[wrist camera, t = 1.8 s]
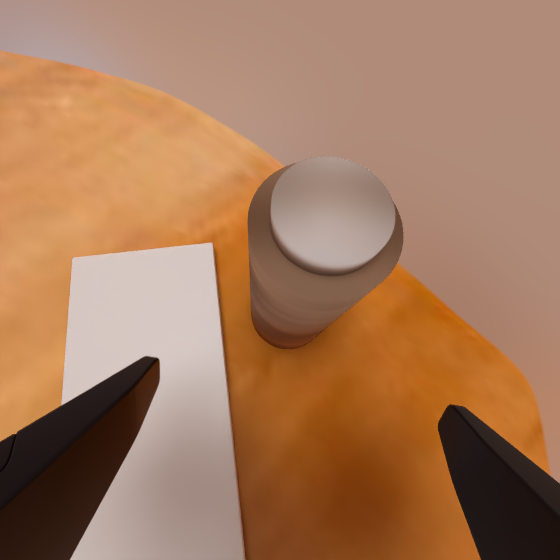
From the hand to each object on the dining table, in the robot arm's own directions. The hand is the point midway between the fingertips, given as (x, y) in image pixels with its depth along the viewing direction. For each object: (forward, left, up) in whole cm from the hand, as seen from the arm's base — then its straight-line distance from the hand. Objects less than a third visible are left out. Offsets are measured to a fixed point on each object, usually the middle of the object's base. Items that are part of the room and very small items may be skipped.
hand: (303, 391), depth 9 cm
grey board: (-1, +8, -12) cm, 15 cm away
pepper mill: (+5, -2, -12) cm, 13 cm away
